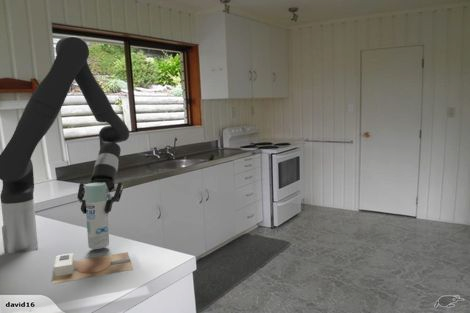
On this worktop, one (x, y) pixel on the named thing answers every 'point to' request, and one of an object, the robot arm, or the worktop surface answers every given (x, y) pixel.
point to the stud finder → (64, 264)
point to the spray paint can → (96, 215)
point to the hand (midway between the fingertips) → (95, 212)
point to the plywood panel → (97, 267)
